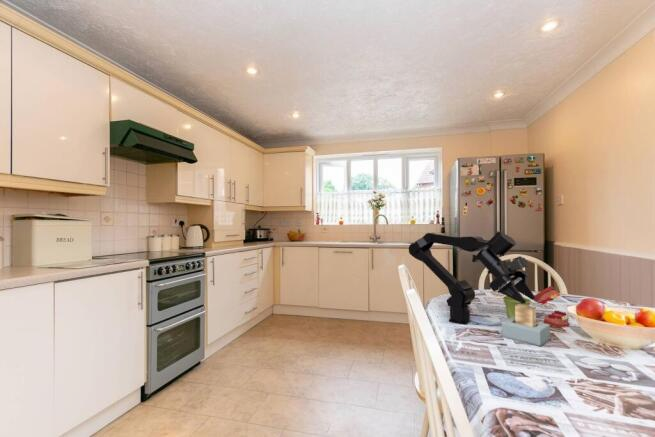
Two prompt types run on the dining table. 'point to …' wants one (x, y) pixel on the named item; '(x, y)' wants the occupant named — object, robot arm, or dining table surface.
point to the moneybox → (526, 332)
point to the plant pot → (513, 305)
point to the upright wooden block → (525, 315)
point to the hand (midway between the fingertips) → (529, 300)
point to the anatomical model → (557, 317)
